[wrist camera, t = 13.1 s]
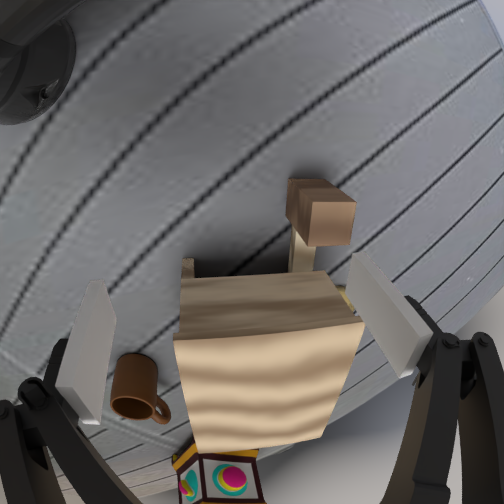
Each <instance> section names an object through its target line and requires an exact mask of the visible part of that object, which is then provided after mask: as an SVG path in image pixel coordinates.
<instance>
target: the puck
mask: <svg viewBox="0 0 504 504" xmlns="http://www.w3.org/2000/svg"><path fill="white" fill-rule="evenodd" d="M335 287H336V288H337V290H338V291H339V293H340V294H341V296H342V297H343V299H344V300H345V302H346V303H347V305H348V306H349V308H350V309H351V311H352V312H353V311H354V309H355V308H354V306H353V305H352V303H351V302H350V300H349V299H348V297H347V296H346V294H345V290H346V287H344V286H335Z"/></svg>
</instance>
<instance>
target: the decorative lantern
mask: <svg viewBox="0 0 504 504" xmlns="http://www.w3.org/2000/svg"><path fill="white" fill-rule="evenodd" d="M258 451H259V448H257V449H249V450H240V451H229V452H217V453H200V454H199V453H198V450H197V446H196V442H195V438H194V435H193V439H192V443H191V444H190V445H189V446H188V448H187V449H186V450H185V451H184V452H183V453H182V454H181V455H180V456H179V457H177V455H173V456H172V466H173V468H174V469H175V471H176V473H177V477H178V492H179V504H267V503H266V502H265V500H264V497H263V493H262V488H261V484H260V479H259V475H258V470H257V466H256V457H257V454H258Z"/></svg>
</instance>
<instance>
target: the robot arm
mask: <svg viewBox="0 0 504 504" xmlns="http://www.w3.org/2000/svg"><path fill="white" fill-rule="evenodd" d="M85 1H86V0H0V124H2V125H15V124H20V123H24V122H28V121H30V120H33V119H35V118H37V117H38V116H40V115H41V114H43V113H44V112H45V111H46V110H48V109H49V108H50V107H51V106H52V105H53V104H54V102H55V101H56V100H57V99H58V97H59V96H60V95H61V93H62V91H63V90H64V88H65V86H66V84H67V82H68V80H69V78H70V75H71V72H72V69H73V65H74V60H75V39H74V35H73V32H72V30H71V28H70V26H69V24H68V23H67V22H66V21H65V20H64V19H63V18H62V17H64V16H65V15H66V14H68V13H69V12H70V11H72V10H73V9H75V8H76V7H77V6H79V5H80V4H82V3H83V2H85ZM345 294H346V296H347V297H348V299H349V300H350V302H351V303H352V305H353V306H354V308H355V309H356V311H357V312H358V314H359V316H360V317H361V319H362V320H363V322H364V323H365V325H366V326H367V328H368V329H369V331H370V333H371V334H372V336H373V337H374V339H375V340H376V342H377V344H378V345H379V347H380V348H381V350H382V352H383V353H384V355H385V356H386V358H387V360H388V361H389V363H390V364H391V366H392V368H393V369H394V371H395V373H396V374H397V376H398V378H402V377H405V376H407V375H410V374H412V373H413V371H414V369H415V367H416V366H417V367H418V368H419V370H420V371H419V373H418V375H417V377H416V378H415V380H414V382H413V384H412V385H413V386H414V384H415V383H416V386H415V391H414V396H413V401H412V405H411V409H410V414H409V418H408V422H407V426H406V430H405V434H404V437H403V441H402V444H401V448H400V451H399V454H398V457H397V461H396V464H395V467H394V470H393V473H392V476H391V479H390V481H389V484H388V487H387V490H386V493H385V495H384V497H383V499H382V501H381V502H380V504H448V503H449V499H450V494H451V492H450V489H449V488H448V487H447V485H446V483H447V478H448V473H449V469H450V464H451V459H452V453H453V448H454V441H455V435H456V428H457V420H458V424H459V434H460V446H461V461H462V504H504V371H503V368H502V365H501V362H500V359H499V355H498V352H497V350H496V347H495V344H494V341H493V339H492V338H491V337H490V336H489V335H488V334H486V333H484V332H477V333H475V334H474V335H473V337H472V339H471V340H459V338H458V337H456V336H455V335H453V334H451V333H443V332H442V330H441V329H440V328H439V327H438V326H437V324H436V323H435V322H434V321H433V319H432V318H431V317H430V316H429V315H428V314H427V312H426V311H425V310H424V309H422V306H421V305H420V304H419V303H418V302H417V301H416V300H415V299H413V298H412V297H410V296H409V295H408V296H403V295H402V294H401V293H400V291H399V290H398V289H397V288H396V287H395V286H394V284H393V283H392V282H391V281H390V280H389V279H388V278H387V276H386V275H385V274H384V273H383V272H382V271H381V270H380V268H379V267H378V266H377V265H376V264H375V263H374V262H373V261H372V260H371V258H370V257H369V256H368V255H367V254H366V253H365V252H358V253H352V259H351V264H350V269H349V275H348V280H347V285H346V290H345ZM116 323H117V318H116V315H115V313H114V310H113V307H112V304H111V301H110V298H109V295H108V292H107V289H106V286H105V283H104V280H103V279H101V280H90V282H89V284H88V287H87V290H86V292H85V295H84V297H83V300H82V303H81V305H80V308H79V311H78V314H77V316H76V319H75V322H74V325H73V328H72V331H71V334H70V337H69V339H60V340H59V341H58V342H57V343H56V345H55V346H54V348H53V351H52V354H51V358H50V360H49V365H48V366H47V369H46V372H45V376H44V379H43V381H42V380H41V379H40V378H37V377H30V378H28V379H26V380H25V381H23V382H22V383H21V385H20V386H19V388H18V398H19V400H20V401H21V402H22V403H23V404H21V405H17V406H14V405H13V404H12V403H11V402H10V401H8V400H0V475H1V479H2V484H3V488H4V492H5V496H6V499H7V503H8V504H66V502H65V499H64V497H63V494H62V492H61V489H60V486H59V484H58V481H57V478H56V475H55V472H54V469H53V466H52V463H51V460H50V457H49V454H48V450H47V447H46V446H48V448H49V450H50V451H51V453H52V455H53V456H54V458H55V460H56V461H57V463H58V465H59V466H60V468H61V469H62V471H63V473H64V474H65V476H66V477H67V479H68V480H69V482H70V483H71V485H72V486H73V487H74V489H75V490H76V492H77V493H78V494H79V496H80V497H81V499H82V500H83V501H84V503H85V504H142V503H141V502H140V501H139V499H138V498H137V497H136V496H135V495H134V494H133V493H132V492H131V491H130V490H129V489H128V488H127V486H126V485H125V484H124V483H123V482H122V481H121V480H120V479H119V477H118V476H117V475H116V474H115V473H114V471H113V470H112V469H111V468H110V467H109V465H108V464H107V463H106V462H105V460H104V459H103V458H102V457H101V455H100V454H99V453H98V452H97V450H96V449H95V448H94V446H93V445H92V444H91V442H90V441H89V439H88V438H87V437H86V435H85V434H84V432H83V431H82V430H81V428H80V427H79V426H78V420H79V418H80V419H81V420H82V421H83V423H84V424H100V422H101V413H102V405H103V397H104V390H105V383H106V377H107V371H108V365H109V359H110V353H111V348H112V343H113V337H114V332H115V328H116Z"/></svg>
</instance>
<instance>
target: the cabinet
mask: <svg viewBox="0 0 504 504" xmlns="http://www.w3.org/2000/svg"><path fill="white" fill-rule="evenodd" d="M364 328H365V323H364V322H363V320H362V319H361V317H360V316H355V315H354V314H353V312H352V311H351V309H350V308H349V306H348V305H347V303H346V302H345V300H344V299H343V297H342V296H341V294H340V293H339V291H338V290H337V288H336V287H335V285H334V284H333V282H332V281H331V279H330V278H329V276H328V275H327V273H326V272H325V270H323V271H309V272H295V273H280V274H264V275H247V276H230V277H211V278H195V271H194V258H184V259H182V276H181V297H180V325H179V333H173V344H174V349H175V354H176V359H177V364H178V369H179V374H180V379H181V384H182V388H183V393H184V397H185V402H186V406H187V410H188V415H189V419H190V423H191V427H192V431H193V435H194V438H195V442H196V446H197V450H198V453H199V454H200V453H217V452H229V451H240V450H249V449H257V448H264V447H271V446H277V445H283V444H289V443H295V442H299V441H305V440H310V439H314V438H319V437H321V435H322V433H323V431H324V429H325V427H326V424H327V422H328V420H329V418H330V416H331V413H332V411H333V409H334V406H335V404H336V402H337V399H338V397H339V395H340V392H341V390H342V387H343V385H344V382H345V380H346V377H347V375H348V372H349V370H350V367H351V364H352V362H353V359H354V356H355V353H356V351H357V348H358V345H359V342H360V339H361V336H362V333H363V331H364Z"/></svg>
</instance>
